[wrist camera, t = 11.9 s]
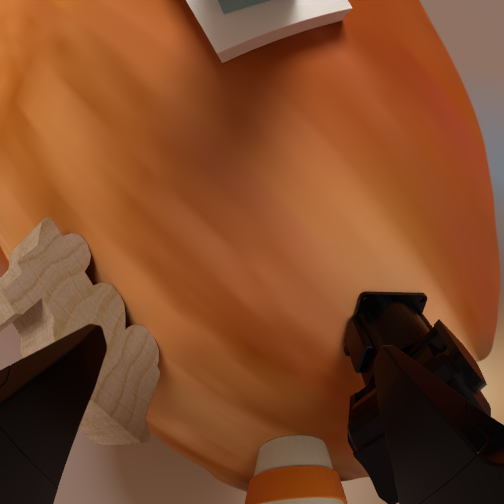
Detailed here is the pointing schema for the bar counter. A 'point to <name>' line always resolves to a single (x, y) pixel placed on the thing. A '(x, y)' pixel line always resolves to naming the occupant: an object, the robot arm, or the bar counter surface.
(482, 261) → the bar counter surface
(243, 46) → the base brick
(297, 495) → the reusable coffee cup
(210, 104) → the bar counter surface
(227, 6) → the teal column
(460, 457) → the robot arm
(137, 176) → the bar counter surface
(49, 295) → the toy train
